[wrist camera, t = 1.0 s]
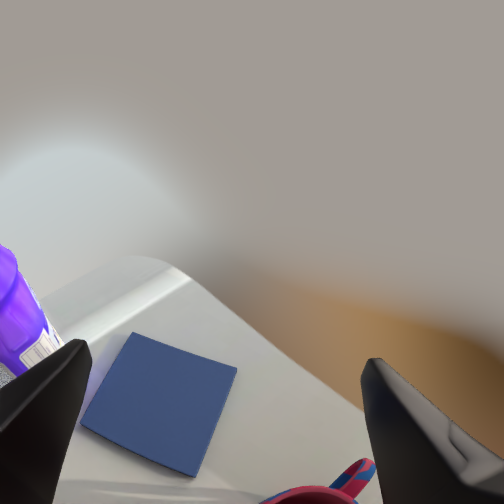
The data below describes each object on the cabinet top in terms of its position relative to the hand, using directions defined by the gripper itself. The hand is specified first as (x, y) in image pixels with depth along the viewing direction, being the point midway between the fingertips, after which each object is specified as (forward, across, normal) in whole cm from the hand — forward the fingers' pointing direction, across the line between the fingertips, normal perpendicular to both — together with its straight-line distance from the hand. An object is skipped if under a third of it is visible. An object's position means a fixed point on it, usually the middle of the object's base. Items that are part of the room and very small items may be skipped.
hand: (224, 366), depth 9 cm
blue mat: (+9, +6, +14) cm, 17 cm away
